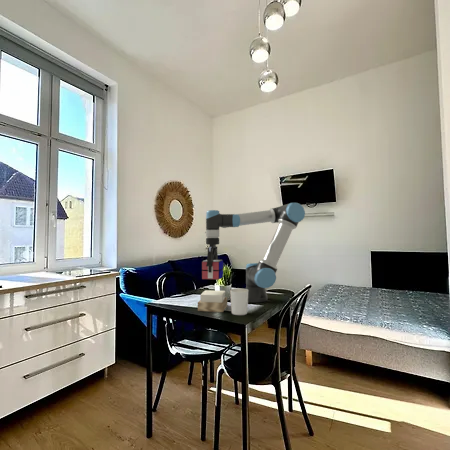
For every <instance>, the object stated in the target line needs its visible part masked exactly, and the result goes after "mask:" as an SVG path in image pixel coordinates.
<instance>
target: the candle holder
mask: <svg viewBox="0 0 450 450" xmlns="http://www.w3.org/2000/svg"><path fill="white" fill-rule="evenodd" d="M248 291H249V290H248V289H246V288H243V287H242V288H239V287H237V288H231V289H230V290H229V292H230V294H229V295H230V309H231V312H230V313H231V314H232V315H233V316H234V315H235V316H245V315H247V314H248V308H249V306H248V305H249V302H248Z"/></svg>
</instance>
